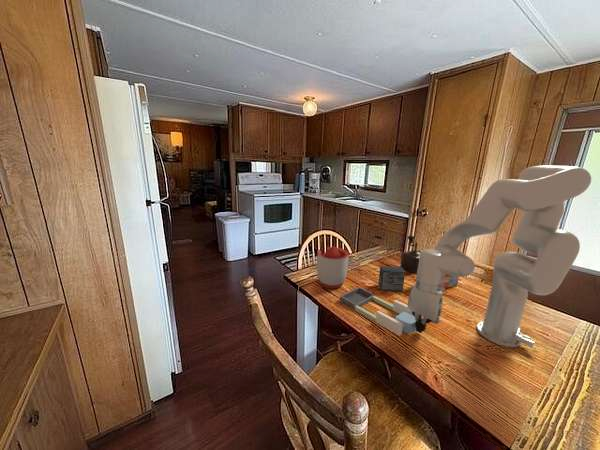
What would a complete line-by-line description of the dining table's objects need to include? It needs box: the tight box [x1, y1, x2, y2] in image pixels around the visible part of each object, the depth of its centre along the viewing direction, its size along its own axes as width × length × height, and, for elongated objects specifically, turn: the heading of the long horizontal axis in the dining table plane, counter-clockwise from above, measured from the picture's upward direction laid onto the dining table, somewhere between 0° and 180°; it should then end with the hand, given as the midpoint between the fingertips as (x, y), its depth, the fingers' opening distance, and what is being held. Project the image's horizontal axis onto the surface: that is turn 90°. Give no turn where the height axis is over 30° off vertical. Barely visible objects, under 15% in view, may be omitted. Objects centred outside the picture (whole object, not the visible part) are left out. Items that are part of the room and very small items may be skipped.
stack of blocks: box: [417, 270, 460, 289], centre depth 122 cm, size 21×6×12 cm, turn 109°
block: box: [394, 312, 416, 335], centre depth 91 cm, size 6×6×4 cm
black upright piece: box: [399, 235, 421, 275], centre depth 142 cm, size 16×11×18 cm
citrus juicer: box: [316, 246, 350, 290], centre depth 122 cm, size 16×17×20 cm
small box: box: [378, 265, 406, 293], centre depth 119 cm, size 11×6×10 cm, turn 84°
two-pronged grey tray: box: [339, 286, 414, 337], centre depth 101 cm, size 29×14×4 cm, turn 39°
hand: (419, 330), depth 88 cm, fingers closed
